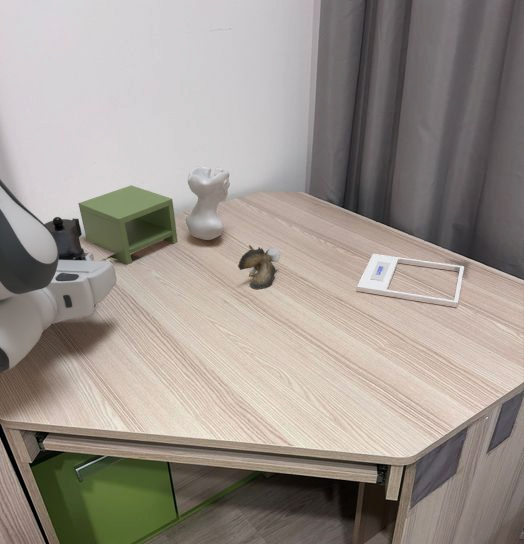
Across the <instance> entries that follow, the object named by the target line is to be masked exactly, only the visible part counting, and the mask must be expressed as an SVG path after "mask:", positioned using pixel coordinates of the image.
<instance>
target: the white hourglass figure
mask: <svg viewBox="0 0 524 544" xmlns="http://www.w3.org/2000/svg"><path fill="white" fill-rule="evenodd" d="M211 173H212V169H211V168H210V167H208V166H196V167H193V168H192V169H191V171H190V172H189V173H188V176H187V185H188V187H189V189H190V191H191V192H192V193H193V194H194V195H196V197H197V201H196V203H195V206H194V207H193V208H192V210H191V212H190V213H189V214H187V215H186V217H185V224H186V226H187V229H188V231H189V233H190V235H191V236H193V237H194V238H197V239H200V240H204V241H212V240H215V239H216V238H218V237H219V236H221V235H222V233H223V232H224V223H223V222H222V220H221V219H220V217H219V216H218V211H217V210H218V205H219V204H220V203H222V202H225V201H226V200H227V198H228V194H229V192H228V190H229V188H230V185H231V183H230V180H229V179H230V173H229V171H227V170H226V171H224V168H223V167H221V166H219V167H216V168H215V169H214V174H213V176H211Z"/></svg>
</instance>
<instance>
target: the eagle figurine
mask: <svg viewBox="0 0 524 544" xmlns="http://www.w3.org/2000/svg"><path fill="white" fill-rule="evenodd" d="M248 247H249V250H247V251H246V252H245V253H244V254H243V255H241V257H240V260H239V261H238V264H237V268H238V269H239V270H240V271H243V270H247V269H250V271H249V274H248V276H249V277H250V276H252V275H254V274H255V275H254V276H253V278H252V280H251V281H250V282H249V283H248V284H249V286H250V288H252V289H253V290H262V289H263V288H264V289H266V288H267V287H269V286H270V285H271V284H272V282H273V281H274V279H275V278H274V276H275V274H276V272H277V270H276V266H274V264H273V263H277V262H278V263H279V261H280V259H281V258H280V257H281V253H280V252H281V251H280V250H279V248H277V247H275V246H270V247H269V248H268V249H267V250H266V251H265V250H264V249H263V248H262V247H259V246H258V247H257V249H254V248H253V246H252V245H251V244H248Z"/></svg>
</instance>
